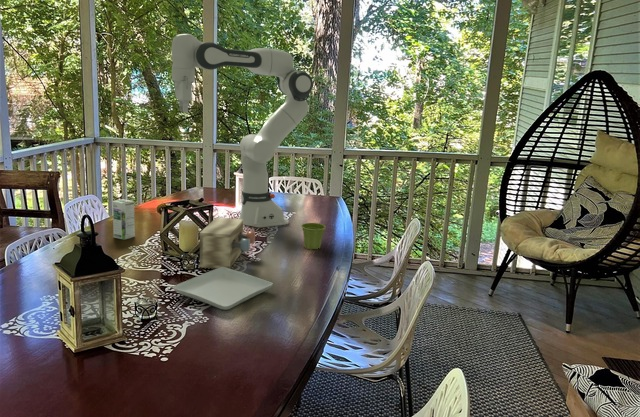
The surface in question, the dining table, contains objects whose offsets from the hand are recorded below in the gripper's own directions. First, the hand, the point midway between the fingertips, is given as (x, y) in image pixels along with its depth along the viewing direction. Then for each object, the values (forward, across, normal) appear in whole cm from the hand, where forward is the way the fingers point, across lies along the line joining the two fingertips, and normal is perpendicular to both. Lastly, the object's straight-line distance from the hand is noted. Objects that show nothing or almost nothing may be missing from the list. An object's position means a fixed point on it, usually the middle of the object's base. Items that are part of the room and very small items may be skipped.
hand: (183, 111), depth 197 cm
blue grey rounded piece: (+43, -51, -11) cm, 68 cm away
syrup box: (+48, -11, +24) cm, 55 cm away
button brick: (+43, -43, -15) cm, 63 cm away
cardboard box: (+48, -44, -7) cm, 65 cm away
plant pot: (+48, -40, -43) cm, 76 cm away
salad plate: (+49, -74, -1) cm, 89 cm away
